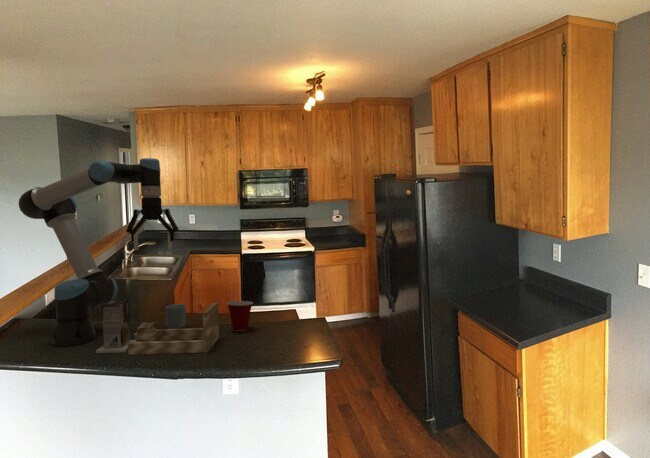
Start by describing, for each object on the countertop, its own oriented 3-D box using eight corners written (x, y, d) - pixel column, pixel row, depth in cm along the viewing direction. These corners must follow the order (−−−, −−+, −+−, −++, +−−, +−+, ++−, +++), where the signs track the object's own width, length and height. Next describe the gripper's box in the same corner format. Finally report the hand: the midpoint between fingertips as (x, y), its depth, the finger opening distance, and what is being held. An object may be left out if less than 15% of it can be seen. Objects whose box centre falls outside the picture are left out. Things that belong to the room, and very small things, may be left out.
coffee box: (113, 341, 171) (111, 299, 170) (130, 341, 171) (129, 299, 170) (103, 349, 161) (101, 304, 161) (121, 348, 162) (119, 304, 161)
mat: (96, 353, 160) (96, 350, 160) (111, 343, 172) (111, 340, 172) (124, 352, 160) (124, 349, 160) (137, 342, 172) (137, 339, 172)
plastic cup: (259, 328, 189) (258, 300, 189) (244, 335, 179) (243, 305, 179) (237, 326, 194) (237, 298, 193) (222, 332, 184) (221, 303, 183)
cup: (180, 332, 186) (179, 308, 186) (163, 331, 188) (162, 307, 187) (189, 327, 194) (188, 304, 193) (173, 326, 195) (172, 303, 195)
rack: (128, 354, 158) (126, 315, 157) (147, 339, 176) (145, 304, 175) (208, 352, 158) (207, 312, 158) (218, 337, 176) (217, 302, 176)
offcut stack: (134, 351, 162) (133, 329, 161) (144, 342, 172) (143, 322, 171) (148, 350, 162) (147, 328, 161) (158, 342, 172) (157, 321, 171)
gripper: (115, 197, 177) (118, 251, 178) (179, 196, 178) (181, 249, 179) (123, 198, 185) (126, 249, 185) (185, 196, 185) (186, 248, 186)
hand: (153, 249), depth 182 cm, fingers open, 13 cm apart
